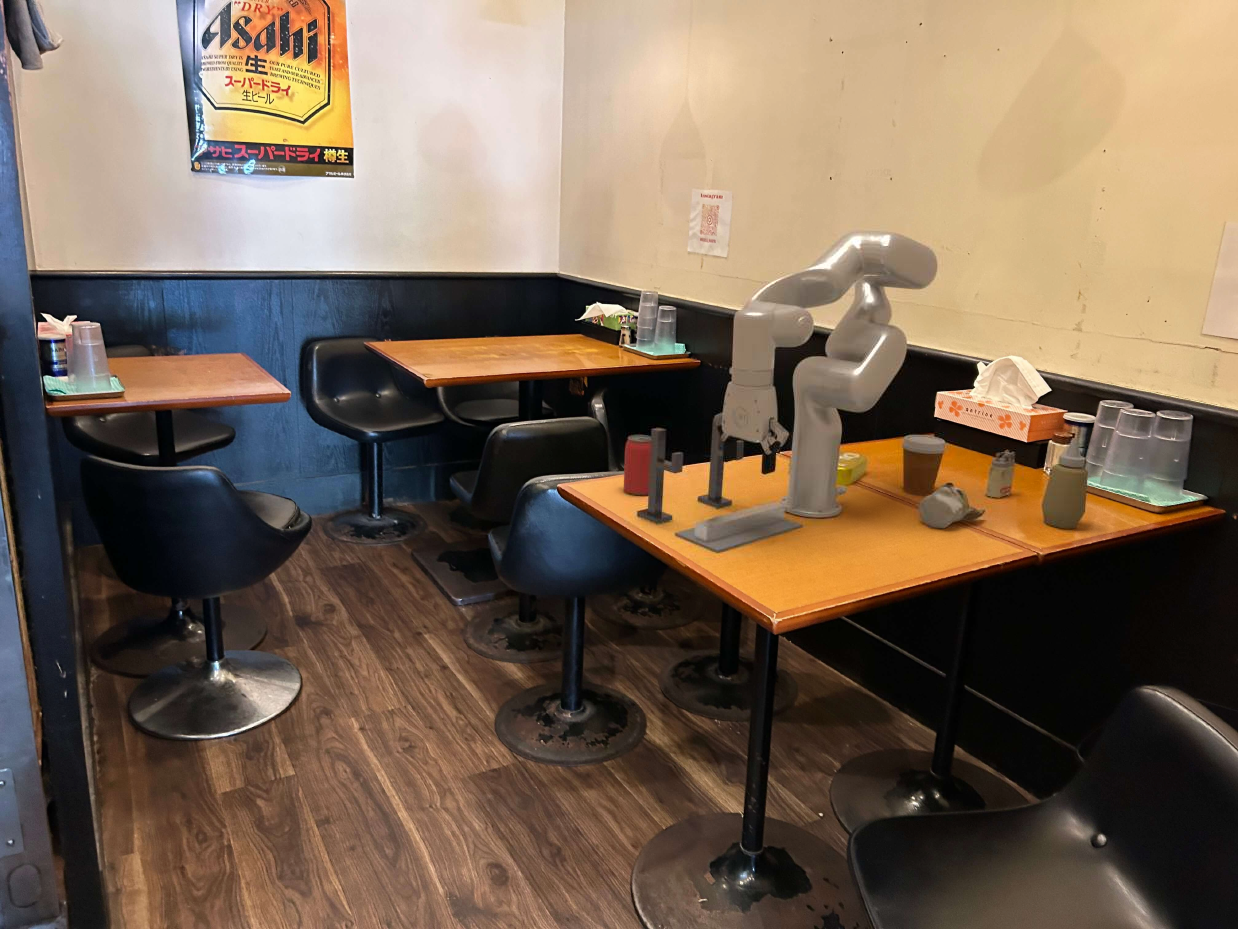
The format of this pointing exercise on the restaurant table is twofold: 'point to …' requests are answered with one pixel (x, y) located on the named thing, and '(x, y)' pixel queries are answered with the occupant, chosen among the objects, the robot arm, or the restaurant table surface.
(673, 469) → the hook stand
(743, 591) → the restaurant table surface
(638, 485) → the beer can
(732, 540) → the mat
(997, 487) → the lighter
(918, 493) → the disposable coffee cup
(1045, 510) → the squeeze bottle
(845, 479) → the element tile
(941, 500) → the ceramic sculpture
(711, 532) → the rail
